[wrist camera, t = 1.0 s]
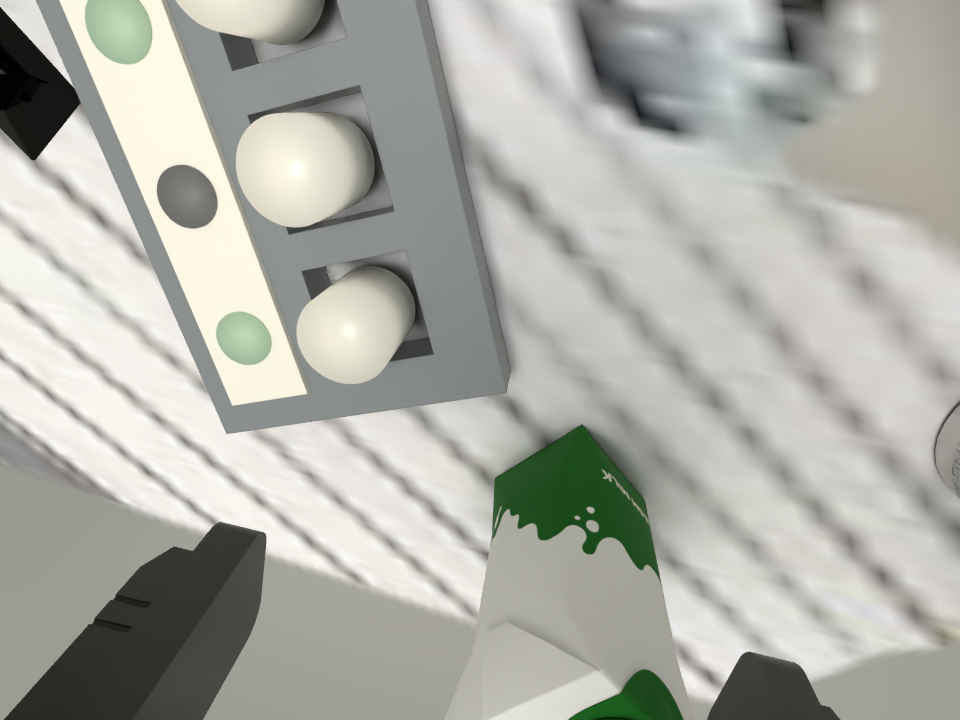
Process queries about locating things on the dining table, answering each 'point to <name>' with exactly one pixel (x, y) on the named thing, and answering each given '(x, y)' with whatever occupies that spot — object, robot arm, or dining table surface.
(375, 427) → the dining table surface
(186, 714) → the robot arm
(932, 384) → the dining table surface
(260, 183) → the button
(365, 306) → the button
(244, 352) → the strip
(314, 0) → the button
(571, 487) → the milk carton
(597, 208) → the dining table surface
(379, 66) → the button board
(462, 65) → the dining table surface
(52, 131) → the black boxy piece
